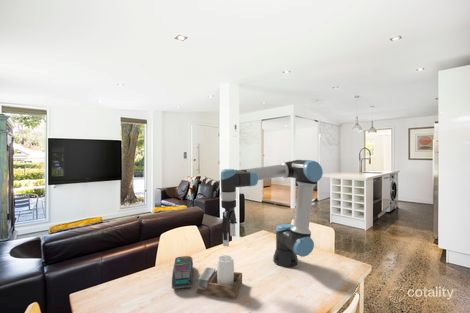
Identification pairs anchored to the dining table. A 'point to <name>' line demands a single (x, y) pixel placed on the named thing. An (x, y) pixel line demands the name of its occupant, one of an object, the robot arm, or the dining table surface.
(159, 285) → the dining table surface
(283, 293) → the dining table surface
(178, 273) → the toy van
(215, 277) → the wooden open tray
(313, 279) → the dining table surface
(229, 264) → the cup
